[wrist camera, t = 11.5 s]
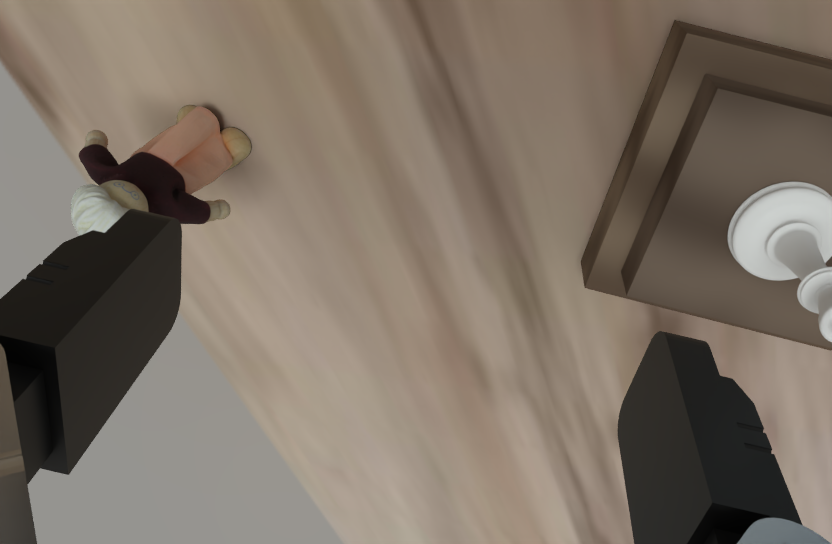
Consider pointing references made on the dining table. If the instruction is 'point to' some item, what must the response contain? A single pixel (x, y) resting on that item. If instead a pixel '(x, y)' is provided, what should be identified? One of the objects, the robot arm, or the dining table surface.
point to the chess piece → (788, 242)
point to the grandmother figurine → (159, 173)
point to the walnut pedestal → (713, 179)
